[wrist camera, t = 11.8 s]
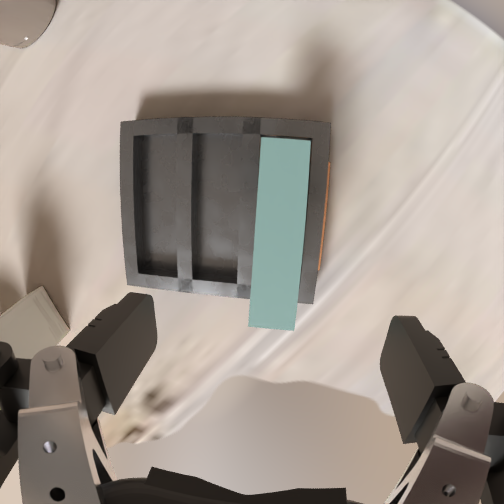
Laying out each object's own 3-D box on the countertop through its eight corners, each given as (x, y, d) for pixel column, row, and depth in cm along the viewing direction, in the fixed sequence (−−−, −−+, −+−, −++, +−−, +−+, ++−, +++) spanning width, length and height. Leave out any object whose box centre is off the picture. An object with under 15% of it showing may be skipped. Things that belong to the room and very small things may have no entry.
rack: (134, 123, 29) (120, 121, 26) (328, 125, 27) (332, 123, 24) (138, 274, 35) (127, 284, 32) (313, 291, 33) (315, 304, 30)
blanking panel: (269, 158, 28) (261, 137, 18) (301, 161, 28) (310, 140, 18) (260, 286, 30) (248, 326, 20) (291, 288, 30) (294, 330, 20)
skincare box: (26, 295, 39) (-38, 341, 25) (44, 283, 37) (-26, 333, 23) (53, 340, 41) (-2, 395, 27) (74, 332, 39) (14, 393, 25)
